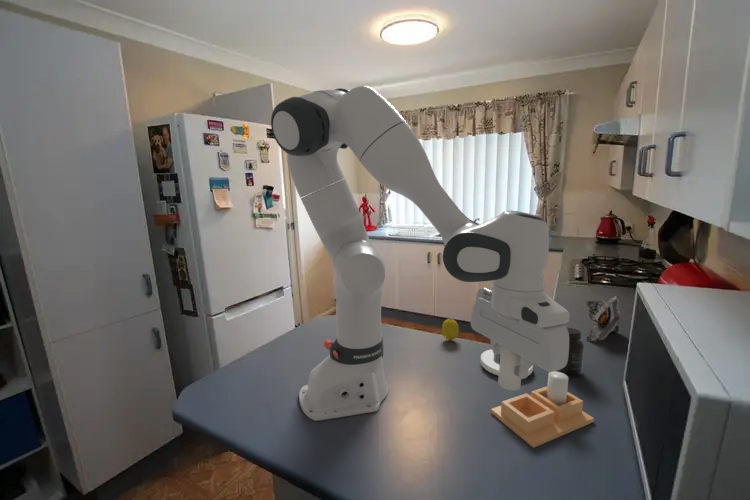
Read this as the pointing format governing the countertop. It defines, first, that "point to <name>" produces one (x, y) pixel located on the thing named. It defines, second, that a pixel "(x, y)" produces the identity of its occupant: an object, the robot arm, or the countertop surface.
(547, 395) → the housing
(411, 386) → the countertop surface
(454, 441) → the countertop surface
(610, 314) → the ornate grey picture frame
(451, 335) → the lemon
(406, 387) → the countertop surface
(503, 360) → the peg
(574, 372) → the supplement bottle
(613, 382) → the countertop surface
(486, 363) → the plastic lid
